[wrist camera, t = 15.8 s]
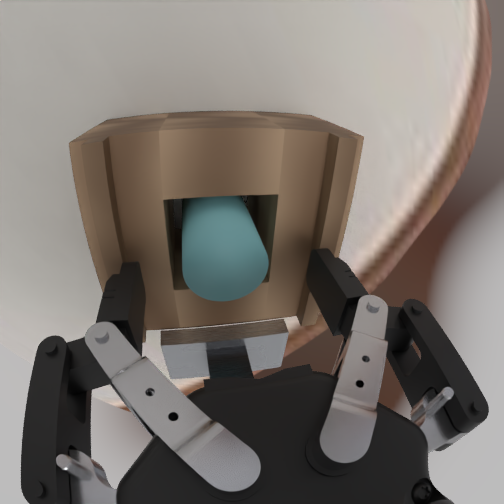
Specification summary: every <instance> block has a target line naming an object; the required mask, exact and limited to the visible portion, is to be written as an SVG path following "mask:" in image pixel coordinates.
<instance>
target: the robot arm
mask: <svg viewBox="0 0 504 504" xmlns="http://www.w3.org/2000/svg"><path fill="white" fill-rule="evenodd" d="M306 282H307V286H308V288H309V290H310V292H311V294H312V296H313V298H314V300H315V301H316V303H317V305H318V307H319V309H320V311H321V313H322V315H323V317H324V319H325V321H326V323H327V325H328V326H329V328H330V330H331V332H332V334H333V336H336V335H340V334H342V335H343V336H344V339H343V341H342V344H341V347H340V350H339V353H338V356H337V360H336V363H335V366H334V369H333V371H332V374H331V375H330V374H327V373H323V372H317V371H312V369H311V366H310V364H307V365H302V366H297V367H292V368H287V369H283V370H281V371H279V372H276V373H274V374H272V375H269V376H267V377H264V378H261V379H251V378H238V377H225V378H216V379H206V380H204V386H205V387H203V388H200V389H198V390H196V391H193V392H192V393H190V394H189V395H187V396H185V395H184V394H183V393H182V392H181V391H180V390H179V389H178V388H177V387H176V386H175V385H174V384H173V383H172V382H171V381H170V380H169V379H168V378H167V377H166V376H165V375H164V374H163V373H162V372H161V371H160V370H159V369H158V368H157V367H156V366H155V365H154V364H153V363H152V362H151V361H150V360H149V359H148V358H147V357H146V356H144V357H142V343H143V328H144V315H145V304H146V293H145V286H144V282H143V277H142V273H141V268H140V264H139V262H138V261H136V262H123V263H122V266H121V270H120V274H112V276H111V277H110V278H109V279H108V280H107V282H106V285H105V288H104V292H103V296H102V300H101V304H100V308H99V312H98V316H97V320H96V324H94V325H92V326H91V327H90V328H89V329H88V330H87V332H86V334H85V337H83V338H81V339H78V340H75V341H71V342H68V343H66V342H65V340H64V339H63V338H62V337H60V336H50V337H47V338H46V339H44V340H43V341H42V342H41V343H40V344H39V346H38V349H37V353H36V357H35V361H34V366H33V370H32V376H31V380H30V386H29V391H28V397H27V404H26V411H25V418H24V427H23V439H22V454H21V489H22V493H23V495H24V497H25V499H26V500H27V501H28V503H29V504H454V503H453V502H452V501H451V500H449V499H448V498H446V497H445V496H444V495H442V494H441V493H440V492H439V491H438V490H437V489H436V488H435V487H434V485H433V484H432V482H431V480H430V477H429V471H428V453H430V452H431V451H433V450H436V451H442V450H444V449H446V448H447V447H449V446H450V445H452V444H453V443H455V442H456V441H458V440H459V439H460V438H462V437H463V436H465V435H466V434H467V433H469V432H470V431H471V430H473V429H474V428H475V427H477V426H478V425H479V424H480V423H482V422H483V421H484V420H485V419H486V418H487V416H488V412H489V409H488V404H487V401H486V399H485V397H484V396H483V394H482V392H481V391H480V389H479V387H478V385H477V383H476V381H475V380H474V378H473V376H472V375H471V373H470V371H469V370H468V368H467V366H466V365H465V363H464V362H463V360H462V358H461V357H460V355H459V354H458V352H457V351H456V349H455V347H454V346H453V344H452V343H451V341H450V340H449V338H448V337H447V335H446V334H445V333H444V331H443V329H442V328H441V326H440V325H439V324H438V322H437V321H436V320H435V318H434V317H433V315H432V314H431V312H430V311H429V310H428V308H427V307H426V306H425V305H424V304H423V303H422V302H420V301H418V300H415V299H408V300H406V301H405V302H404V304H403V305H402V307H389V306H387V304H386V303H385V302H384V301H383V300H382V299H381V298H379V297H377V296H373V295H369V294H368V292H367V291H366V290H365V288H364V287H363V285H362V284H361V283H360V281H359V280H358V278H357V277H355V274H354V273H353V272H351V269H350V268H349V266H348V265H347V264H346V263H345V262H344V261H342V260H341V259H340V258H338V257H337V258H335V257H334V255H333V254H332V252H331V251H330V250H329V249H328V248H322V249H313V250H312V251H311V254H310V259H309V264H308V269H307V274H306ZM413 341H414V342H415V343H416V345H417V346H418V348H419V350H420V352H421V360H420V358H419V356H418V355H417V353H416V351H415V349H414V348H413V346H412V343H413ZM386 357H387V358H388V360H389V362H390V364H391V366H392V368H393V370H394V372H395V374H396V376H397V378H398V380H399V382H400V384H401V386H402V388H403V390H404V392H405V395H406V397H407V399H408V401H409V403H410V405H411V407H412V410H411V420H409V419H407V418H405V417H403V416H402V415H399V414H398V413H396V412H394V411H393V410H391V409H389V408H387V407H386V406H384V405H382V404H381V403H379V402H377V401H378V397H379V391H380V386H381V382H382V376H383V371H384V365H385V359H386ZM109 384H110V385H111V386H112V388H113V389H114V390H115V392H116V393H117V394H118V396H119V397H120V398H121V400H122V401H123V402H124V404H125V405H126V406H127V407H128V409H129V410H130V411H131V412H132V413H133V415H134V416H135V417H136V419H137V420H138V421H139V422H140V424H141V425H142V426H143V427H144V428H145V430H146V431H147V432H148V433H149V434H150V435H151V436H152V437H153V438H152V440H151V441H150V443H149V444H148V445H147V447H146V448H145V449H144V450H143V452H142V453H141V454H140V456H139V457H138V459H137V460H136V461H135V462H134V464H133V465H132V466H131V468H130V469H129V470H128V472H127V473H126V474H125V475H124V477H123V478H122V480H121V481H120V483H119V485H118V488H117V489H114V488H112V487H111V485H110V484H109V482H108V480H107V478H106V474H105V471H104V469H103V468H102V466H101V465H100V464H98V463H97V462H96V461H94V460H93V459H91V434H90V433H91V432H90V431H91V430H90V429H91V428H90V427H91V424H90V422H91V393H92V389H96V388H99V387H102V386H106V385H109Z"/></svg>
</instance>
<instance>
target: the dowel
mask: <svg viewBox="0 0 504 504" xmlns="http://www.w3.org/2000/svg"><path fill="white" fill-rule="evenodd" d="M268 266H269V260H268V255H267V252H266V250H265V248H264V245H263V243H262V241H261V239H260V236H259V234H258V232H257V230H256V227H255V225H254V223H253V221H252V218H251V216H250V214H249V212H248V209H247V207H246V205H245V203H244V200H243V198H242V196H241V195H238V196H215V197H196V198H182V271H183V277H184V280H185V282H186V284H187V286H188V287H189V288H190V289H191V290H192V291H193V292H194V293H195V294H197V295H198V296H200V297H202V298H205V299H208V300H212V301H231V300H235V299H239V298H241V297H244V296H246V295H248V294H249V293H251V292H252V291H254V290H255V289H256V288H257V287H258V286H259V285H260V284H261V283H262V281H263V280H264V278H265V276H266V274H267V271H268Z"/></svg>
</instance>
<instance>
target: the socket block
mask: <svg viewBox="0 0 504 504" xmlns="http://www.w3.org/2000/svg"><path fill="white" fill-rule="evenodd" d="M363 140H364V137H363V136H361V135H359V134H357V133H354V132H352V131H350V130H347V129H345V128H342V127H340V126H338V125H335V124H333V123H330V122H328V121H325V120H322V119H320V118H317V117H314V116H312V115H302V114H290V113H276V112H253V111H200V112H178V113H163V114H151V115H141V116H132V117H124V118H117V119H110V120H106V121H104V122H103V123H101V124H99V125H97V126H96V127H94V128H92V129H91V130H89V131H87V132H86V133H84V134H82V135H81V136H79V137H77V138H76V139H74V140H73V141H71V142H70V143H69V148H70V156H71V163H72V170H73V176H74V182H75V187H76V192H77V198H78V202H79V207H80V212H81V216H82V221H83V225H84V229H85V233H86V237H87V241H88V245H89V248H90V252H91V256H92V259H93V262H94V266H95V269H96V272H97V276H98V279H99V282H100V285H101V288H102V291H103V292H104V288H105V285H106V282H107V280H108V279H109V278H110V277H111V276H112V274H120V270H121V266H122V263H123V262H136V261H138V262H139V264H140V268H141V273H142V277H143V282H144V286H145V293H146V304H145V315H144V328H143V342H146V330H161V329H177V328H190V327H203V326H214V325H224V324H234V323H243V322H252V321H260V320H269V319H276V318H284V317H291V316H297V318H298V320H299V323H300V325H301V326H307V325H313V324H315V323H316V320H317V316H318V313H319V312H321V311H320V309H319V307H318V305H317V303H316V301H315V300H314V298H313V296H312V294H311V292H310V290H309V288H308V286H307V282H306V274H307V269H308V264H309V259H310V254H311V251H312V250H313V249H322V248H328V249H329V250H330V251H331V252H332V254H333V255H334V257H335V258H337V257H339V253H340V250H341V246H342V242H343V238H344V233H345V229H346V225H347V221H348V216H349V212H350V207H351V203H352V198H353V193H354V189H355V184H356V179H357V173H358V168H359V163H360V157H361V152H362V146H363ZM238 195H248V202H247V209H248V212H249V214H250V216H251V218H252V221H253V223H254V225H255V227H256V230H257V232H258V234H259V236H260V239H261V241H262V243H263V245H264V248H265V250H266V252H267V255H268V260H269V266H268V271H267V274H266V276H265V278H264V280H263V281H262V283H261V284H260V285H259V286H258V287H257V288H256V289H255V290H254V291H252V292H251V293H249V294H248V295H246V296H244V297H241V298H239V299H235V300H231V301H212V300H208V299H205V298H202V297H200V296H198V295H197V294H195V293H194V292H193V291H192V290H191V289H190V288H189V287H188V286H187V284H186V282H185V280H184V277H183V271H182V229H175V221H174V208H173V199H180V198H196V197H215V196H238Z"/></svg>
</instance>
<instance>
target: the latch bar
mask: <svg viewBox="0 0 504 504" xmlns="http://www.w3.org/2000/svg"><path fill="white" fill-rule="evenodd" d="M288 333H289V332H288V329H287V327H286V324H285V322H284V319H279V320H272V321H264V322H256V323H247V324H238V325H229V326H219V327H208V328H196V329H183V330H169V331H161V348H162V352H163V355H164V358H165V362H166V365H167V368H168V371H169V375H170V378H171V379H181V378H194V377H206V376H209V378H210V379H216V378H225V377H238V378H251V379H254V377H253V373H252V371H256V370H263V369H269V368H275V367H281V363H282V359H283V355H284V351H285V346H286V342H287V338H288Z"/></svg>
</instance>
